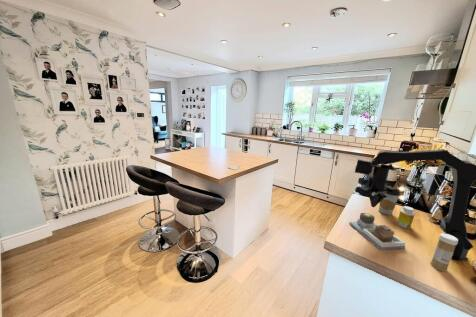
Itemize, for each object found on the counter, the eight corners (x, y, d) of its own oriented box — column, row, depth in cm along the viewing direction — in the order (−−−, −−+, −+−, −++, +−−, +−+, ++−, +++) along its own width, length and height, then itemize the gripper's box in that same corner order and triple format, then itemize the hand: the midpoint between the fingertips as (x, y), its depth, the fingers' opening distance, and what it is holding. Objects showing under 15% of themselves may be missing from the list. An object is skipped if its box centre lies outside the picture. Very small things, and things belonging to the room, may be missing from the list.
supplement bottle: (408, 229, 96) (413, 211, 94) (395, 224, 101) (400, 206, 98) (412, 226, 99) (417, 209, 97) (399, 221, 104) (403, 204, 101)
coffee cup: (394, 212, 113) (401, 189, 109) (393, 217, 107) (400, 193, 103) (377, 207, 118) (383, 185, 115) (375, 212, 112) (381, 188, 109)
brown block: (391, 241, 85) (394, 230, 83) (382, 242, 84) (385, 230, 82) (381, 234, 89) (384, 223, 88) (373, 234, 89) (376, 224, 87)
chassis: (404, 248, 82) (407, 240, 82) (380, 249, 81) (382, 242, 80) (369, 223, 101) (371, 216, 100) (349, 224, 99) (350, 217, 98)
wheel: (376, 222, 93) (378, 218, 92) (366, 223, 92) (367, 218, 91) (367, 216, 99) (368, 211, 98) (356, 216, 98) (357, 212, 97)
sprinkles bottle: (445, 266, 73) (457, 236, 70) (447, 273, 70) (460, 242, 66) (429, 260, 76) (439, 231, 73) (430, 267, 73) (441, 236, 69)
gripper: (382, 171, 99) (375, 198, 103) (349, 171, 96) (344, 200, 100) (402, 178, 88) (395, 209, 92) (367, 179, 85) (360, 210, 89)
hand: (372, 206), depth 94 cm, fingers closed
